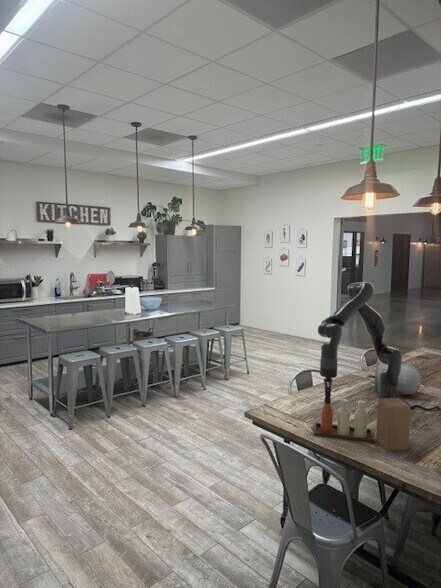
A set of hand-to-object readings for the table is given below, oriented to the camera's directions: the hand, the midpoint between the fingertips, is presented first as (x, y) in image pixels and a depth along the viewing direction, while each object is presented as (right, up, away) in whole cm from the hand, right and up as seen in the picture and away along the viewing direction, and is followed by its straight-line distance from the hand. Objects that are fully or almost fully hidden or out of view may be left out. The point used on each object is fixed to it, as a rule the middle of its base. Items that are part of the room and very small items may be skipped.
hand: (327, 399), depth 182 cm
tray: (+7, -16, 0) cm, 18 cm away
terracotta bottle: (0, -15, +2) cm, 16 cm away
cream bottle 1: (+7, -16, 0) cm, 17 cm away
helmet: (+53, -10, +53) cm, 76 cm away
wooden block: (+25, -18, -10) cm, 32 cm away
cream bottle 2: (+14, -16, -2) cm, 22 cm away
